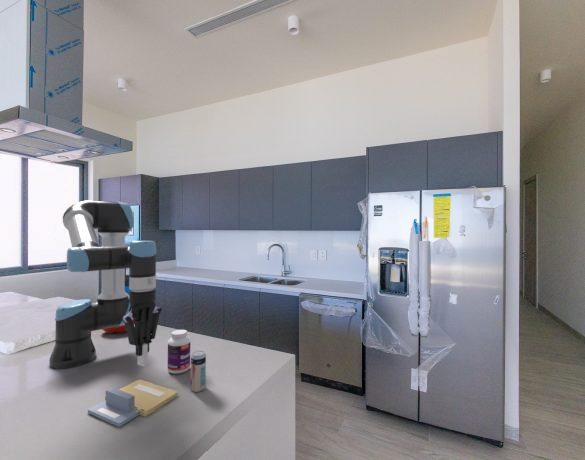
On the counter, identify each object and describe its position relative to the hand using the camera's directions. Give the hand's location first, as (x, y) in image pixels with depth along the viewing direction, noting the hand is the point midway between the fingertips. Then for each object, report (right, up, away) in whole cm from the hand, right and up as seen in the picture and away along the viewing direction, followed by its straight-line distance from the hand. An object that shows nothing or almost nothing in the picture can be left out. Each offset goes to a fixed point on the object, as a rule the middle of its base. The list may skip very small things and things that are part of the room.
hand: (142, 364), depth 94 cm
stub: (-4, -11, -8) cm, 14 cm away
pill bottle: (+4, -11, +19) cm, 22 cm away
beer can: (+16, -11, +6) cm, 20 cm away
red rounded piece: (-43, -10, +60) cm, 75 cm away
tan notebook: (0, -11, 0) cm, 11 cm away
